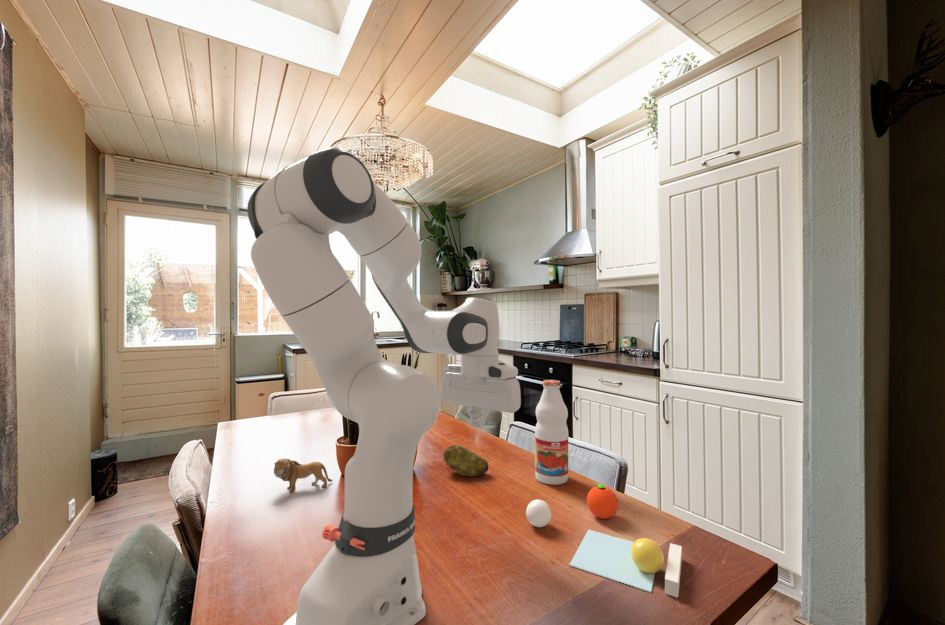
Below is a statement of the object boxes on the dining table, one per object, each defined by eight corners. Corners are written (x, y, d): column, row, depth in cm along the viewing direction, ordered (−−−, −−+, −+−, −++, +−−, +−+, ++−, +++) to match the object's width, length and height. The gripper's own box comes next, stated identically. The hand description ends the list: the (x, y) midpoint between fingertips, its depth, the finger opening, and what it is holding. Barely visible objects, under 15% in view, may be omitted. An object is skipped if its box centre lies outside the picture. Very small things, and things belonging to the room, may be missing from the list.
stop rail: (678, 598, 65) (678, 582, 65) (664, 593, 66) (664, 578, 66) (681, 559, 75) (681, 546, 75) (670, 555, 76) (670, 543, 76)
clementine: (581, 507, 95) (581, 478, 95) (608, 506, 96) (608, 477, 96) (593, 525, 87) (593, 493, 87) (623, 524, 88) (623, 492, 88)
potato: (477, 484, 109) (478, 455, 109) (439, 474, 115) (439, 447, 115) (491, 473, 116) (491, 446, 116) (454, 465, 122) (454, 439, 122)
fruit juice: (565, 472, 117) (565, 378, 117) (571, 486, 107) (571, 384, 108) (533, 471, 117) (533, 378, 118) (536, 485, 108) (536, 383, 108)
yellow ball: (660, 585, 68) (664, 555, 68) (627, 571, 71) (630, 542, 71) (663, 568, 73) (666, 539, 73) (631, 555, 76) (635, 528, 76)
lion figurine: (274, 498, 100) (274, 463, 100) (272, 490, 104) (273, 457, 104) (334, 486, 107) (334, 453, 107) (330, 479, 112) (330, 447, 112)
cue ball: (530, 491, 88) (522, 516, 85) (554, 500, 86) (546, 526, 83) (531, 501, 92) (523, 525, 88) (554, 510, 90) (547, 534, 86)
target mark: (651, 592, 66) (651, 591, 66) (569, 565, 73) (569, 564, 73) (659, 550, 78) (659, 549, 78) (588, 530, 85) (588, 529, 85)
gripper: (435, 364, 95) (434, 422, 94) (512, 371, 84) (510, 436, 84) (450, 362, 100) (449, 417, 100) (524, 369, 89) (523, 430, 89)
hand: (478, 426), depth 92 cm, fingers closed
